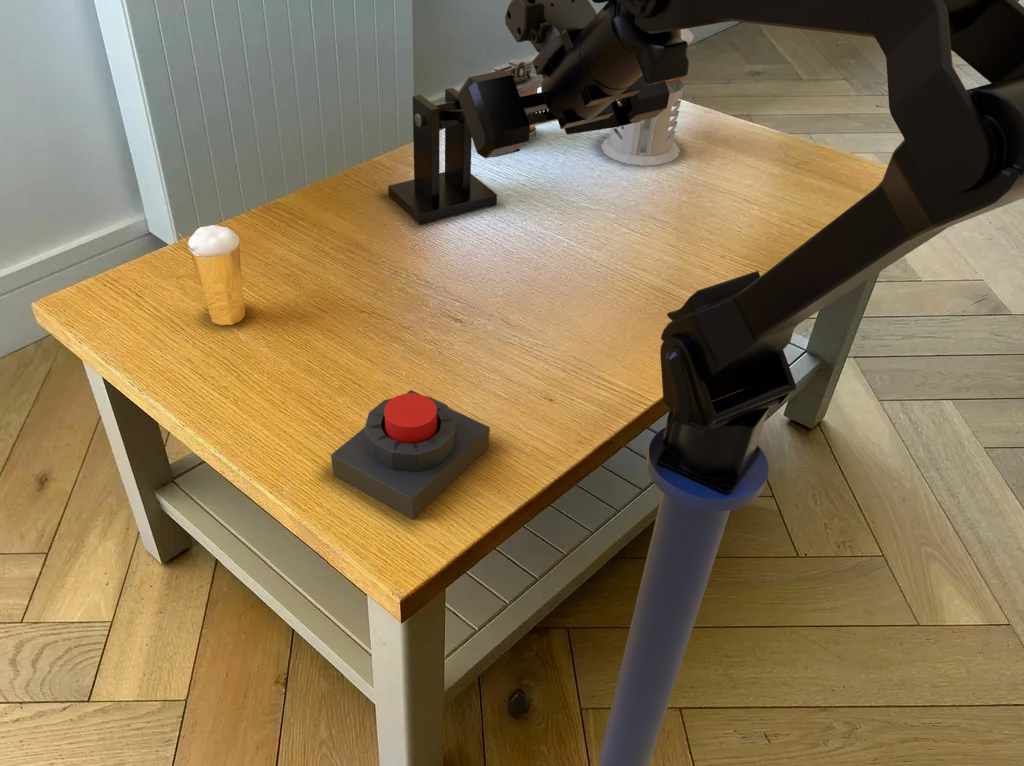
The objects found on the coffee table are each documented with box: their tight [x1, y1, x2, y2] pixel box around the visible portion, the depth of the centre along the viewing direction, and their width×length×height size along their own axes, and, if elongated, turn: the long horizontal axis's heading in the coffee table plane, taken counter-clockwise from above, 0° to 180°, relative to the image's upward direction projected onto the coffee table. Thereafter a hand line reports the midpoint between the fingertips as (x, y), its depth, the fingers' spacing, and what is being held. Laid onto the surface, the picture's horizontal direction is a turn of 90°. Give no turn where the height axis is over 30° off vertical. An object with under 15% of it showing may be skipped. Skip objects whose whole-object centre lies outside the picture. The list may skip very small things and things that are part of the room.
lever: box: [433, 101, 466, 130], centre depth 93 cm, size 13×3×3 cm, turn 27°
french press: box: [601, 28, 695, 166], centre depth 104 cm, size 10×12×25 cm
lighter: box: [492, 57, 541, 141], centre depth 112 cm, size 8×3×10 cm, turn 130°
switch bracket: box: [387, 87, 498, 226], centre depth 100 cm, size 8×10×12 cm
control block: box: [330, 389, 491, 520], centre depth 70 cm, size 8×10×4 cm
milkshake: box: [177, 224, 246, 326], centre depth 83 cm, size 4×5×10 cm
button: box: [384, 393, 437, 444], centre depth 69 cm, size 4×4×2 cm
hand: (525, 139), depth 84 cm, fingers open, 9 cm apart
